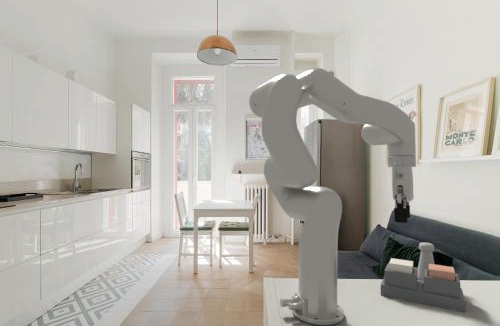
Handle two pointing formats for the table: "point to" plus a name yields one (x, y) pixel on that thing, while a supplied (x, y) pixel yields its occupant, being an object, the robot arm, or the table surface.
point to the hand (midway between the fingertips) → (402, 219)
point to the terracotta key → (441, 272)
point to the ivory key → (401, 266)
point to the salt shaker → (425, 258)
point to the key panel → (423, 289)
